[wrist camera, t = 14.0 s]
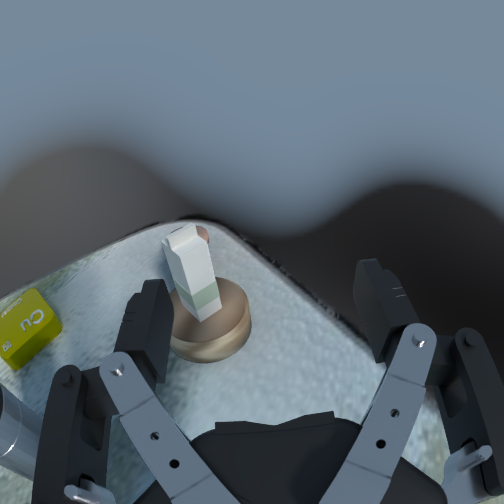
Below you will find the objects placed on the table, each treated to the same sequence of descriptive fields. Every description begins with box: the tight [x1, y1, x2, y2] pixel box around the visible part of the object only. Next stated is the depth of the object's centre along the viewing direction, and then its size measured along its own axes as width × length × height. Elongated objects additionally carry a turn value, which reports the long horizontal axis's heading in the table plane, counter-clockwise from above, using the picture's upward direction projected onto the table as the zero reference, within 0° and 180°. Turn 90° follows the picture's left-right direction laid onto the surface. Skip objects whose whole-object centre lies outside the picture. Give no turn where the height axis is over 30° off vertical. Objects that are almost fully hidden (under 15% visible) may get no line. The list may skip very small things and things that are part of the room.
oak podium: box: [169, 277, 251, 363], centre depth 47 cm, size 14×14×5 cm
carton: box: [161, 223, 222, 322], centre depth 42 cm, size 4×5×14 cm
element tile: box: [0, 288, 63, 370], centre depth 48 cm, size 15×15×5 cm
